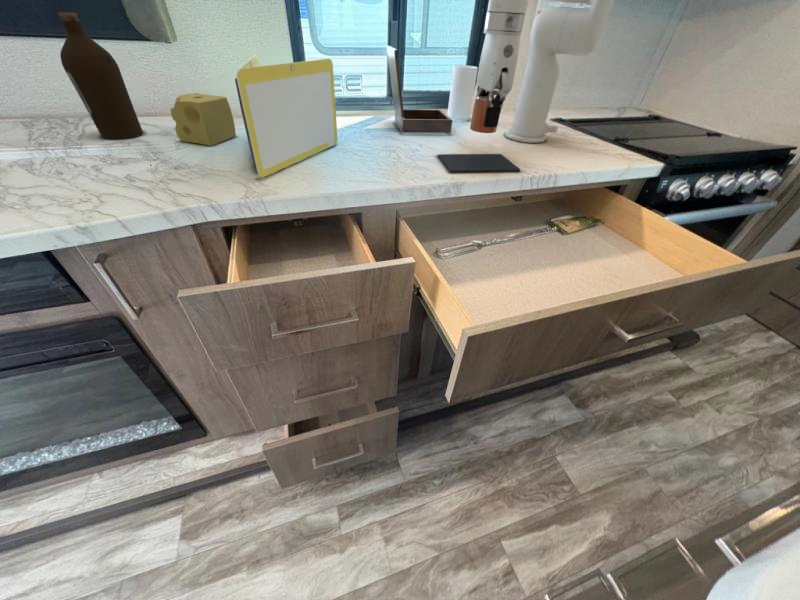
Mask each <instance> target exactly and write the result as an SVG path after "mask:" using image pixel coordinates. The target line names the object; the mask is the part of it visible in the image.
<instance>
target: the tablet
mask: <svg viewBox="0 0 800 600" xmlns="http://www.w3.org/2000/svg"><path fill="white" fill-rule="evenodd" d="M235 75H236V77H235V78H234V82H235V87H236V92H237V96H238V101H239V107H240V111H241V116H242V120H243V124H244V130H245V134H246V137H247V143H248V147H249V152H250V155H251V159H252V163H253V167H254V170H255V172H256V175H258V176H259V177H262V178H265V177H267V176H270V175H272V174H274V173H276V172H278V171H281V170H283V169H285V168H288V167H290V166H291V165H294V164H296V163H298V162H300V161H302V160H305V159H307V158H309V157H312V156H313V155H316V154H318V153H321V152H322V151H324V150H326V149H329V148H331V147H334V146H335V145H337V143H338V125H337V108H336V107H337V106H336V95H335V94H336V93H335V92H336V91H335V79H334V77H335V75H334V64H333V61H332V59H331V58H322V59H314V60H305V61H295V62H286V63H285V62H284V63H276V64H267V65H261V64H260V60H259V54H258V53H255V54H254V55H252V56H251V57H250V58H249V59H248V60H246V62H244V63H243V64H242V65H241V66H239V67H238V69H237V71H236V74H235Z"/></svg>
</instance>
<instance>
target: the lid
mask: <svg viewBox="0 0 800 600" xmlns="http://www.w3.org/2000/svg"><path fill="white" fill-rule="evenodd" d="M386 53H387V62H388V69H389V76H390V78H389V79H390V87H391V95H392V102H393V108H394V111H395V110H396V111H397V112H398V114H399V115H400V116H401V118H404V111H403V109H404V102H403V94H402V93H403V92H402V83H401V74H400V64H399V56H398V55H399V54H398V49H397V48H395V47H392V46H391V45H386Z"/></svg>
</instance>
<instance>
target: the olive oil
mask: <svg viewBox="0 0 800 600" xmlns="http://www.w3.org/2000/svg"><path fill="white" fill-rule="evenodd" d="M57 14H58V16H59V18H60V19H61V24H62V25H63V28H64V30H65V31H66V38H65V40H64V42H63V45H62V48H61V49H60V55H59V56H60V61H61V66H62V68H63V70H64V71H65V74H66V75H67V77H68V79H69V81H70V82H71V84H72V86H73V87H74V89H75V91H76V92H77V93H76V94H77V95H78V96H79V98H80V100H81V102H82V104H83V105H84V108H85V109H86V111H87V113H88V114H89V117H90V119H91V120H92V122H93V123H94V125H95V127H96V129H97V131H98V133H99V135H100V136H101V138H103V139H105V140H106V139H107V140H125V139H126V140H127V139H132V138H136V137H139V136H142V135H143V134H144V131H143V128H142V126H141V124H140V121H139V118H138V115H137V113H136V110H135V108H134V105H133V102H132V100H131V97H130V95H129V91H128V89H127V85H126V83H125V80H124V78H123V75H122V72H121V69H120V67H119V65H118V63H117V61H116V59H114V57H113V56H112V54H111V53H110V52H109V51H108V50H107V49H105V48H104V47H103V46H101V45H100V44H99V43H97V42H96V41H94V40H93V39H92V38H91V37H89V36H88V35H87V34H86V31H85V30H84V29H85V28H84V26H83V24H82V22H81V21H80V19H79V17H78V14H77V13H76V12H57Z"/></svg>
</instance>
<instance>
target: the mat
mask: <svg viewBox="0 0 800 600" xmlns="http://www.w3.org/2000/svg"><path fill="white" fill-rule="evenodd" d="M437 158H438V159H439V161H440V162H441V163H442V164H443V166H444V167H445V168H446V169H447V170H448V172H449V173H450V174H463V173H464V174H465V173H466V174H467V173H470V174H471V173H520V172H521V168H519V167H518V166H516V164H514V163H513V162H512V161H511V160H509V159H508V158H506V156H504V155H503V154H502V153H450V154H449V153H445V154H443V153H442V154H441V153H437Z"/></svg>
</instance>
